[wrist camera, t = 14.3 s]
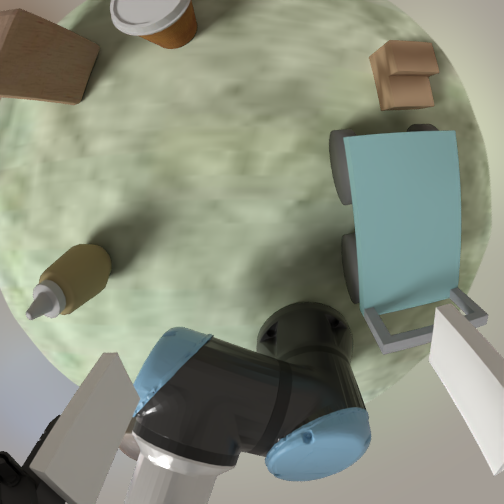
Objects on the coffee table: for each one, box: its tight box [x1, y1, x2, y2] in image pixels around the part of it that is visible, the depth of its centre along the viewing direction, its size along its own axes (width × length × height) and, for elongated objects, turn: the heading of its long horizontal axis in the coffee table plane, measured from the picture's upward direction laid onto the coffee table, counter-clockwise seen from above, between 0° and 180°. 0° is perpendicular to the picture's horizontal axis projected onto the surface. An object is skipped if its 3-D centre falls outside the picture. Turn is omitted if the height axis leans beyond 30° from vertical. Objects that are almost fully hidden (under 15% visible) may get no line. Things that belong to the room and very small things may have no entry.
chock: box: [369, 40, 439, 111], centre depth 31 cm, size 8×6×8 cm
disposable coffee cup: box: [110, 0, 197, 49], centre depth 28 cm, size 10×10×12 cm
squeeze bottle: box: [26, 244, 112, 320], centre depth 37 cm, size 8×8×18 cm
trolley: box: [329, 124, 488, 354], centre depth 32 cm, size 22×13×18 cm, turn 10°
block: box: [0, 9, 100, 105], centre depth 26 cm, size 10×10×20 cm
